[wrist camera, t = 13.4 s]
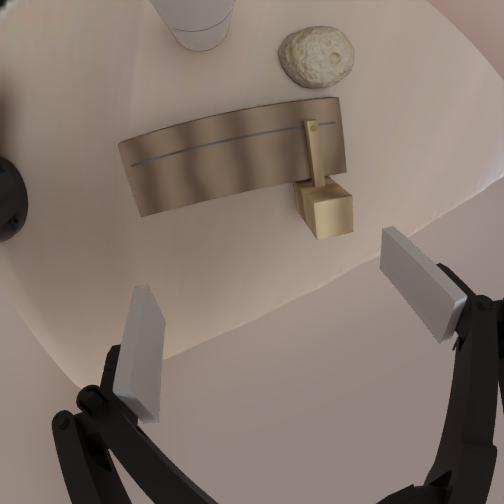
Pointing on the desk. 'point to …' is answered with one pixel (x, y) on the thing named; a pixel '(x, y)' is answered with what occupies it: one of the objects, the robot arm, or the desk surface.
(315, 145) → the wooden lever on block
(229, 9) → the cylindrical container
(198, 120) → the board
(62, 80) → the desk surface
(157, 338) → the robot arm
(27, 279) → the desk surface
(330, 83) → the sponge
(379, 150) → the desk surface
